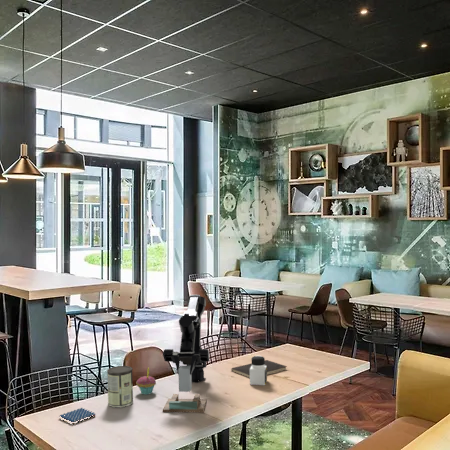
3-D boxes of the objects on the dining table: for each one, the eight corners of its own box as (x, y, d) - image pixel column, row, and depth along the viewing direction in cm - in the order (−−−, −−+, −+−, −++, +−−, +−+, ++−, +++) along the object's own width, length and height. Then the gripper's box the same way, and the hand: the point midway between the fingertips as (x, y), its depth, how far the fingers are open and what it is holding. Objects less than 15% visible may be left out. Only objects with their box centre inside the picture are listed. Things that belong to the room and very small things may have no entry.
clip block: (180, 387, 197) (180, 365, 197) (191, 387, 197) (191, 365, 197) (178, 391, 192) (178, 369, 192) (190, 391, 192) (189, 369, 192)
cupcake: (160, 392, 212) (159, 365, 212) (144, 397, 206) (144, 369, 206) (148, 388, 218) (147, 361, 218) (132, 393, 212) (132, 365, 212)
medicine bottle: (265, 385, 219) (264, 359, 219) (249, 384, 220) (249, 358, 220) (267, 380, 226) (266, 355, 226) (251, 380, 227) (251, 354, 227)
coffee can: (116, 397, 206) (115, 364, 206) (137, 400, 203) (137, 366, 203) (102, 406, 197) (102, 371, 197) (124, 409, 193) (124, 373, 193)
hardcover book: (286, 370, 242) (286, 366, 242) (251, 380, 229) (251, 375, 229) (265, 364, 255) (265, 359, 255) (231, 372, 242) (231, 367, 242)
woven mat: (57, 420, 184) (57, 415, 184) (81, 412, 192) (81, 406, 192) (72, 427, 177) (72, 421, 177) (96, 418, 185) (96, 412, 185)
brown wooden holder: (168, 401, 201) (168, 392, 201) (206, 401, 200) (206, 392, 200) (162, 412, 189) (162, 403, 189) (203, 412, 188) (203, 403, 188)
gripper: (211, 350, 209) (209, 384, 198) (168, 350, 211) (164, 383, 199) (209, 336, 201) (206, 370, 190) (165, 336, 203) (160, 370, 192)
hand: (184, 374), depth 193 cm, fingers closed on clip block, 4 cm apart
